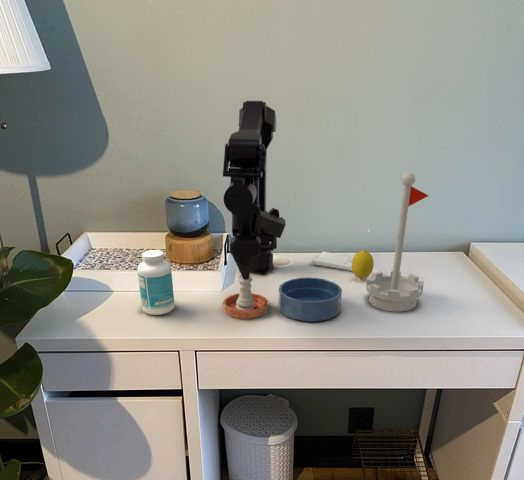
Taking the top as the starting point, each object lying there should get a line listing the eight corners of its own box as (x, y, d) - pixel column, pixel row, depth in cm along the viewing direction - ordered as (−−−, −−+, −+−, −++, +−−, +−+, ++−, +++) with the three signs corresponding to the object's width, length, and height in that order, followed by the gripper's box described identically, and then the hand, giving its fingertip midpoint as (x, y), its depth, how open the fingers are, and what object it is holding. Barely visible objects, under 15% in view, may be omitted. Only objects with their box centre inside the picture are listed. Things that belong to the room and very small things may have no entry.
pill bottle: (180, 305, 130) (176, 249, 124) (165, 318, 124) (160, 260, 118) (151, 300, 132) (146, 246, 126) (136, 313, 126) (129, 256, 120)
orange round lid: (215, 313, 126) (214, 305, 125) (237, 297, 134) (236, 289, 133) (254, 323, 122) (254, 314, 121) (275, 305, 130) (275, 297, 129)
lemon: (358, 285, 141) (361, 255, 137) (346, 277, 146) (348, 248, 142) (376, 281, 144) (379, 251, 140) (363, 274, 148) (366, 245, 144)
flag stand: (375, 315, 126) (390, 180, 111) (357, 292, 137) (369, 166, 122) (429, 311, 128) (451, 178, 113) (408, 289, 139) (425, 165, 124)
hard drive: (323, 256, 160) (365, 262, 155) (312, 265, 153) (356, 272, 149) (323, 250, 159) (365, 257, 155) (313, 259, 153) (357, 266, 148)
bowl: (268, 314, 126) (268, 294, 123) (293, 292, 137) (294, 273, 135) (327, 328, 120) (328, 307, 118) (348, 303, 131) (350, 284, 129)
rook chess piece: (256, 304, 130) (256, 272, 126) (254, 312, 126) (253, 279, 122) (237, 303, 130) (236, 271, 126) (234, 311, 126) (233, 278, 122)
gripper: (286, 213, 108) (284, 287, 116) (281, 190, 124) (280, 256, 132) (229, 213, 108) (231, 288, 116) (231, 190, 124) (233, 257, 132)
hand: (246, 271), depth 124 cm, fingers open, 9 cm apart
